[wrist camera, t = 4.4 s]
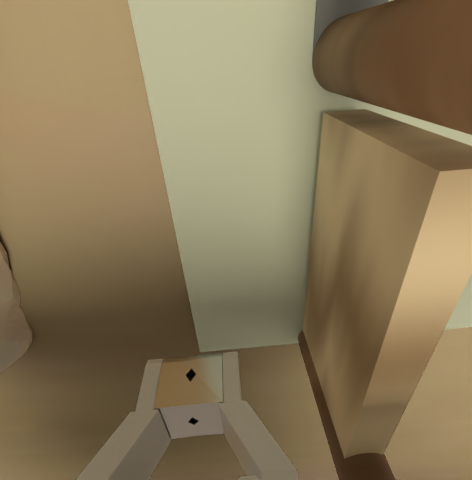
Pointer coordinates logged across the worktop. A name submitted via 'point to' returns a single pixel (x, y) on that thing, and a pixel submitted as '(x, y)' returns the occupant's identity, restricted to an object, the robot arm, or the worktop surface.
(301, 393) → the worktop surface
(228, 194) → the board
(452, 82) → the fence fixed half
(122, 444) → the robot arm
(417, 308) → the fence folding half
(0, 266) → the stone tool
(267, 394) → the worktop surface
